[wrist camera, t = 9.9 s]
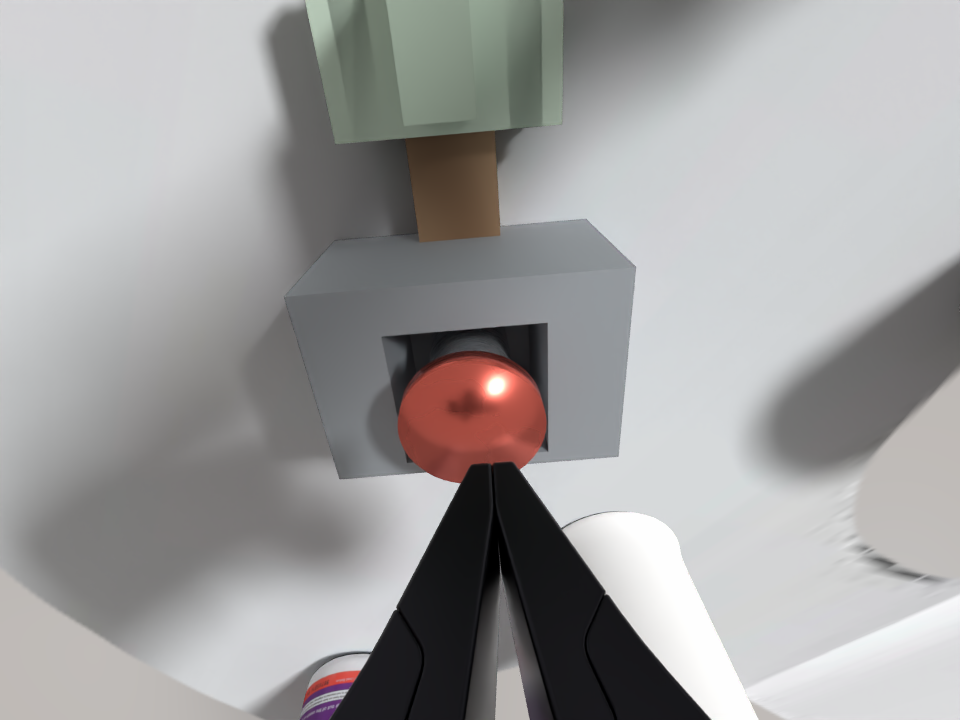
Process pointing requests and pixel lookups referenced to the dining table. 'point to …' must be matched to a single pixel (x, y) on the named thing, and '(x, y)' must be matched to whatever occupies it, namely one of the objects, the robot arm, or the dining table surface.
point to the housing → (459, 306)
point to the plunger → (470, 406)
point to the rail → (454, 185)
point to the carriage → (438, 66)
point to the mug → (661, 605)
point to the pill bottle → (331, 686)
